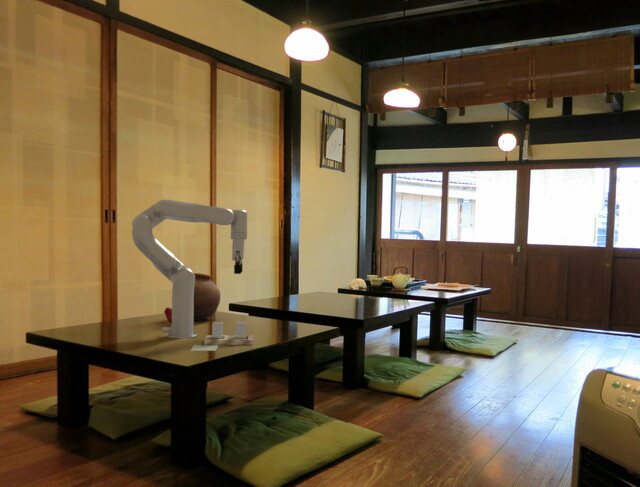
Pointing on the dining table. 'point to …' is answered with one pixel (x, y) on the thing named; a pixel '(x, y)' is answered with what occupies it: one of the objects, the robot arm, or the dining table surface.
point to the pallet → (228, 340)
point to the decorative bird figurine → (168, 314)
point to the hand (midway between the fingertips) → (238, 272)
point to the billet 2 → (241, 330)
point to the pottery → (205, 297)
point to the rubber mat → (204, 348)
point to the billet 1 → (217, 330)
